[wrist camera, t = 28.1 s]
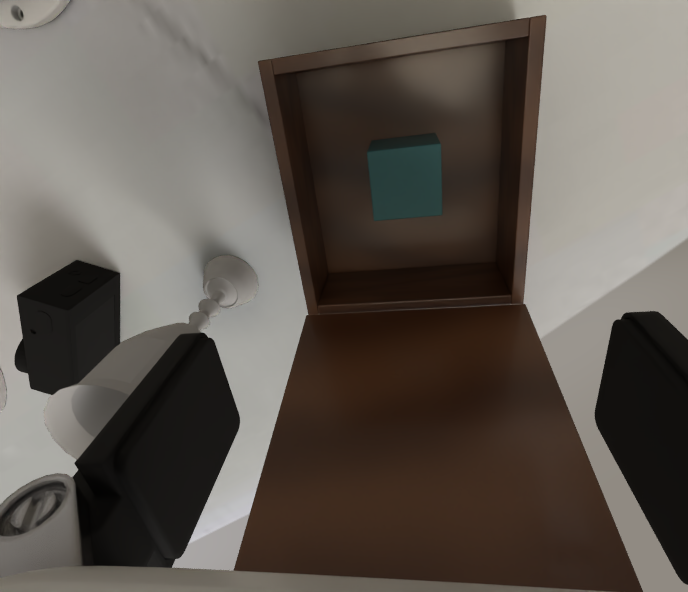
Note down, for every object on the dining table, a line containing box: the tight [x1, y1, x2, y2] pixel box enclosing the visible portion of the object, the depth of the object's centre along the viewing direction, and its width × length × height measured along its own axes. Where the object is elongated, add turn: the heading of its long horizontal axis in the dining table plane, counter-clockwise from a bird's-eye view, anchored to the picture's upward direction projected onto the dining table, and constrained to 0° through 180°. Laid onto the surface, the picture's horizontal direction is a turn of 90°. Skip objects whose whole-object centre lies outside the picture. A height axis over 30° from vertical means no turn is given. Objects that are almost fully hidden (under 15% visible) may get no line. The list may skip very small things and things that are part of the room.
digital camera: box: [15, 260, 120, 395], centre depth 38 cm, size 10×5×7 cm, turn 164°
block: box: [367, 133, 442, 221], centre depth 28 cm, size 4×4×4 cm
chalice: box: [44, 255, 258, 459], centre depth 30 cm, size 7×7×18 cm
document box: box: [258, 15, 546, 315], centre depth 28 cm, size 17×15×6 cm
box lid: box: [234, 304, 643, 592], centre depth 24 cm, size 17×15×5 cm
